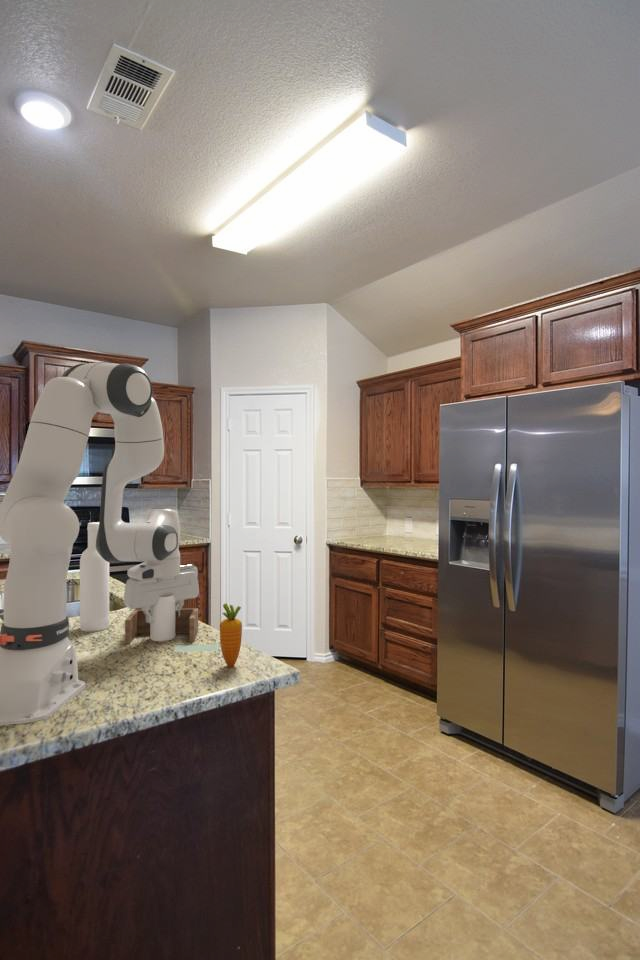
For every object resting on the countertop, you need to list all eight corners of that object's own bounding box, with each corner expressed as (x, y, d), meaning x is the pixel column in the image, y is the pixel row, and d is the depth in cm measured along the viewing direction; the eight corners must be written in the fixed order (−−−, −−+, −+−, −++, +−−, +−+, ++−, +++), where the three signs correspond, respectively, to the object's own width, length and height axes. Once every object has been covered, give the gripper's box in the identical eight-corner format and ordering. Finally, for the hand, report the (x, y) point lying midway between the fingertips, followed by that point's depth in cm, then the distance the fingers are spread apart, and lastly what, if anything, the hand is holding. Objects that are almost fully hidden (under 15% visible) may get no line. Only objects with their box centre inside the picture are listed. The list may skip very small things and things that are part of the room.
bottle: (111, 623, 157) (111, 521, 156) (107, 630, 149) (107, 523, 149) (82, 624, 155) (82, 521, 154) (76, 632, 147) (76, 524, 147)
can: (171, 642, 139) (171, 596, 139) (146, 642, 140) (146, 596, 139) (178, 635, 146) (178, 591, 146) (154, 634, 146) (154, 591, 146)
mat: (216, 661, 126) (216, 659, 126) (169, 662, 125) (169, 661, 125) (219, 645, 137) (219, 644, 137) (176, 647, 136) (176, 645, 136)
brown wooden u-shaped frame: (194, 642, 139) (194, 618, 139) (125, 645, 137) (125, 620, 137) (198, 631, 149) (198, 608, 149) (134, 633, 147) (134, 609, 147)
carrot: (246, 668, 122) (246, 602, 122) (231, 674, 118) (231, 607, 117) (230, 663, 125) (230, 599, 124) (215, 670, 121) (215, 604, 120)
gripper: (191, 561, 152) (191, 610, 152) (121, 571, 138) (121, 624, 138) (203, 564, 147) (203, 614, 148) (132, 574, 133) (132, 629, 133)
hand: (163, 619), depth 143 cm, fingers closed on can, 6 cm apart
